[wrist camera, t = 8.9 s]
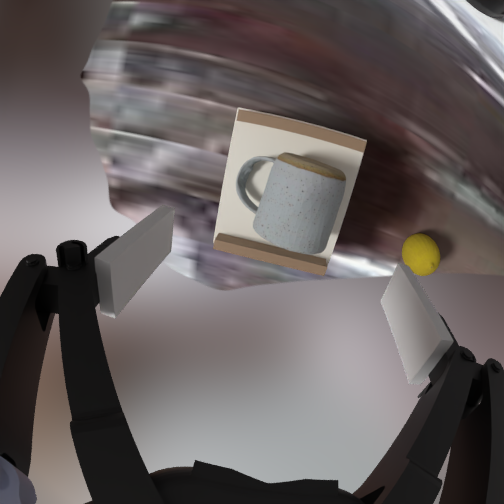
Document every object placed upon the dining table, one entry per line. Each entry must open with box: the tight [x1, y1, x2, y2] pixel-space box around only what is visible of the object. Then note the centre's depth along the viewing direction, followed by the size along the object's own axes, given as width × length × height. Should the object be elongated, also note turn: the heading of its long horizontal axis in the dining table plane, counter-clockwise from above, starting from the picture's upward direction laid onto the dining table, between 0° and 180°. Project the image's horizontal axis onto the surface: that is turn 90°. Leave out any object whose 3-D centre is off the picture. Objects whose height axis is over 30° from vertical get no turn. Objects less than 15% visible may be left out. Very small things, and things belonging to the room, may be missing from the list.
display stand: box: [213, 108, 367, 276], centre depth 33 cm, size 14×16×10 cm
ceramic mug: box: [236, 152, 346, 255], centre depth 27 cm, size 11×8×8 cm
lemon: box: [402, 233, 440, 276], centre depth 35 cm, size 6×6×8 cm
